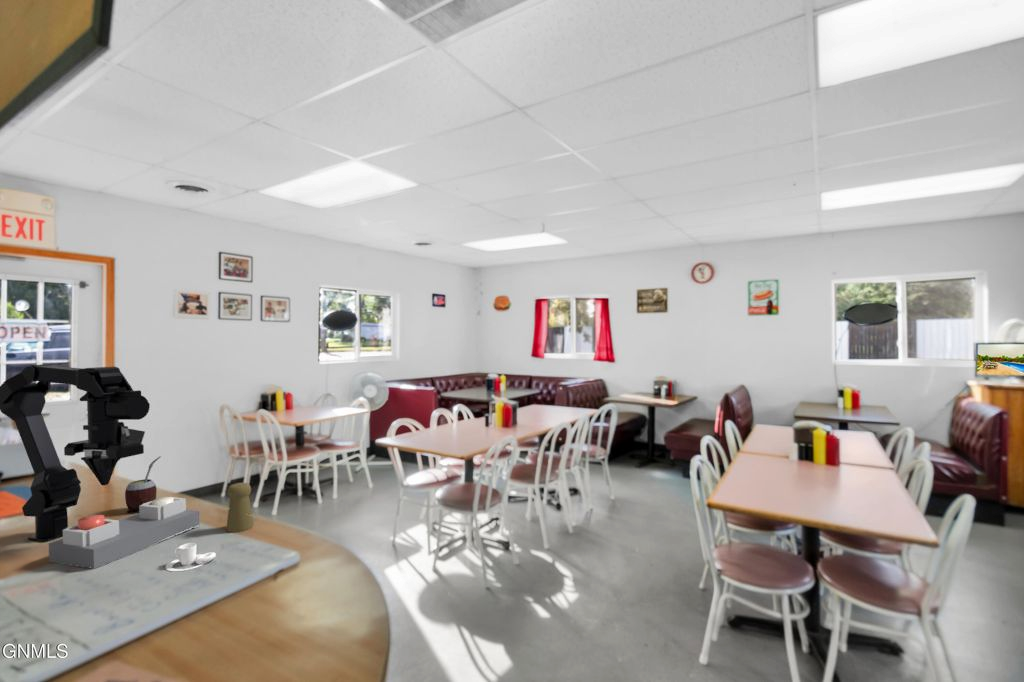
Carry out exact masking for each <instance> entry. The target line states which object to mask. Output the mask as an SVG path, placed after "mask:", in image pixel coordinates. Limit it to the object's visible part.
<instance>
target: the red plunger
mask: <svg viewBox="0 0 1024 682" xmlns="http://www.w3.org/2000/svg"><path fill="white" fill-rule="evenodd" d="M104 519H105V515H104V514H93V515H88V516H85V517H82V518H80V519H78V520H77V524H78V530H85V531H87V530H90V529H93V528H96V527H99V526H102V525H105V524H104Z"/></svg>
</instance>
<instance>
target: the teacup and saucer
mask: <svg viewBox="0 0 1024 682" xmlns="http://www.w3.org/2000/svg"><path fill="white" fill-rule="evenodd" d="M177 550H178V553H177ZM173 553H174V556H175V558H176V559H173V561H172V560H171V562H169V563H168V564H166V565H165V570H166V571H168V572H185V571H190V570H193V569H197V568H199V567H202V566H204V565H205V564H207V563H209V562H211V561H213V560H214V559H215V558H216V556H217V554H216V552H213V551H211V552H209V551H208V552H206V553H202V554H201V553H200V554H198V553H197V542H188V543H183V544H182V545H180V546H178V547H176V548H175V549H174V551H173ZM178 554H179V555H178ZM178 562H180V563H181V565H182V566H190V565H193V564H194V563H196V564H197V565H194V566H191V567H188V568H178V569H177V568H173V566H174V565H175V564H176V563H178Z"/></svg>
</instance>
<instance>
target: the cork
mask: <svg viewBox="0 0 1024 682" xmlns="http://www.w3.org/2000/svg"><path fill="white" fill-rule="evenodd" d="M226 492H227V493H226V494H227V497H228V498H229V503H228V504H229V505H228V514H227V520H226V521H227V523H226V529H225V531H226V532H227V533H240V532H245V531H249V530H250V529H252V528H253V527H254V519H253V512H252V507H251V504H250V503H251V502H250V497H249V496H250V494H251V492H252V488H251V485H250V483H249V482H236V483H233V484H231V485H229V486H228V488H227V491H226ZM229 508H230V509H229ZM247 514H248V515H247ZM249 515H252V516H249Z"/></svg>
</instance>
